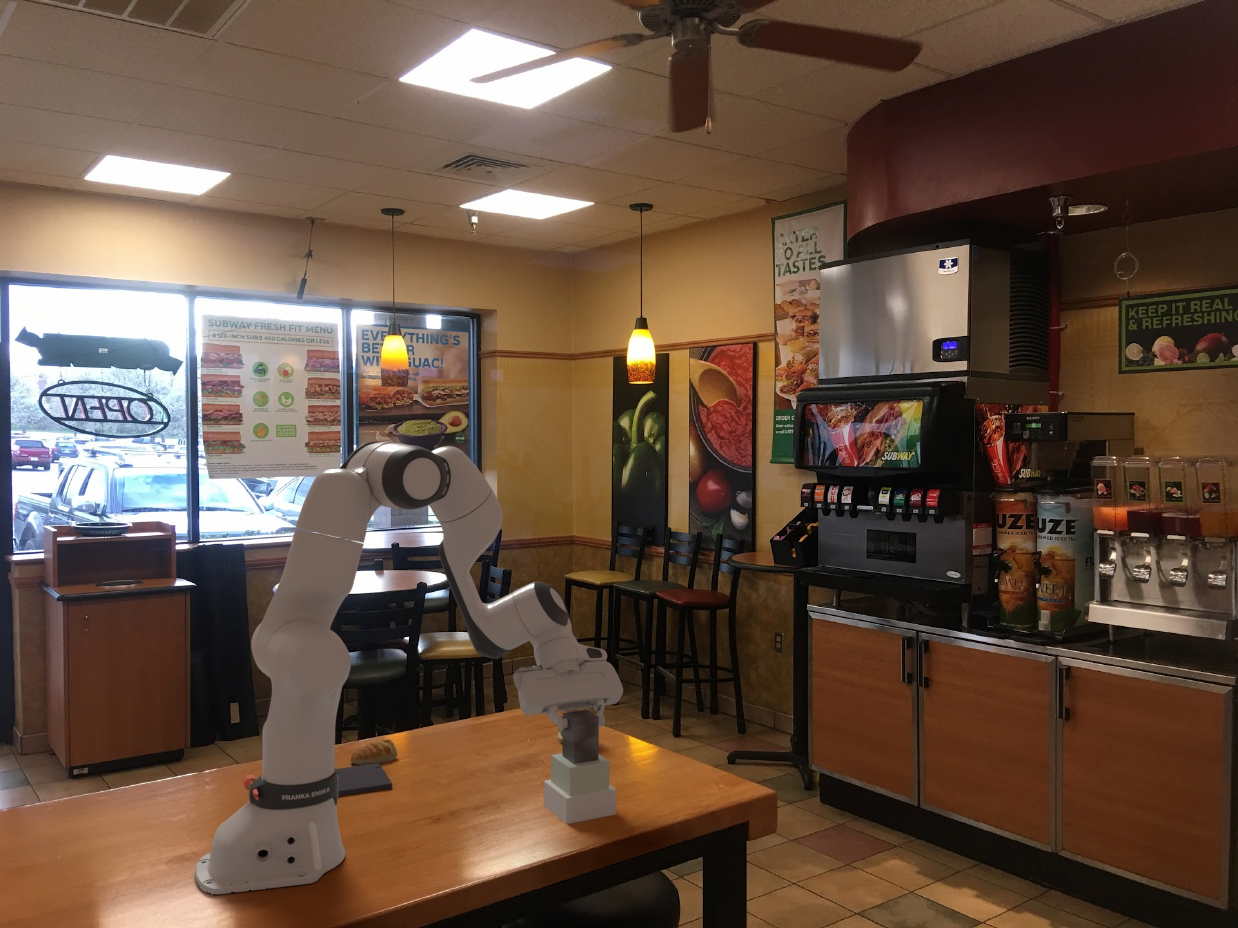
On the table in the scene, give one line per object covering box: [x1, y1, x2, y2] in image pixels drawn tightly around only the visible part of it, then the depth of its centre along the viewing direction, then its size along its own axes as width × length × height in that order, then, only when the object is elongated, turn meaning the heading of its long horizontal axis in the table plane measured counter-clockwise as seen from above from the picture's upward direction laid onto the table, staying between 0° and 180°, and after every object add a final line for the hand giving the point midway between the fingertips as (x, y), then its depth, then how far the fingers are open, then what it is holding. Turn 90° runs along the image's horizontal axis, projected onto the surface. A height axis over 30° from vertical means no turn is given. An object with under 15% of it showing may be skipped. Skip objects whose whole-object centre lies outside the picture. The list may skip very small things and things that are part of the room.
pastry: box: [350, 738, 398, 766], centre depth 206 cm, size 9×7×4 cm
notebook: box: [335, 763, 393, 797], centre depth 191 cm, size 13×2×21 cm
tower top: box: [550, 752, 611, 796], centre depth 180 cm, size 8×8×5 cm
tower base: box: [543, 779, 617, 825], centre depth 180 cm, size 10×10×5 cm
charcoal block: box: [561, 710, 600, 764], centre depth 180 cm, size 5×5×8 cm
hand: (582, 727), depth 179 cm, fingers open, 6 cm apart
